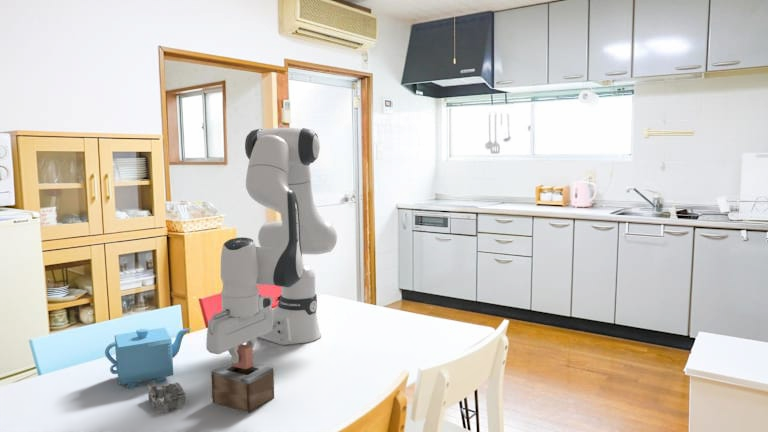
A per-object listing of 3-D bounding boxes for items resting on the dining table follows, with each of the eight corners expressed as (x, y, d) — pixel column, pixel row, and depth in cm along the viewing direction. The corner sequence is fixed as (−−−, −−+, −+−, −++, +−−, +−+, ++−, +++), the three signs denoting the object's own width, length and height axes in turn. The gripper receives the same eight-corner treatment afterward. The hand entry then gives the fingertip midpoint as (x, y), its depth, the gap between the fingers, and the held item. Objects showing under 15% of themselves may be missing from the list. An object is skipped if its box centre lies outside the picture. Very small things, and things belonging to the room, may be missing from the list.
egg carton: (146, 399, 139) (145, 383, 139) (177, 392, 143) (176, 377, 143) (156, 415, 130) (155, 399, 130) (188, 407, 134) (188, 391, 134)
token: (232, 366, 137) (231, 346, 136) (239, 362, 139) (238, 343, 138) (246, 369, 135) (245, 349, 134) (253, 365, 137) (252, 346, 136)
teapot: (108, 393, 142) (105, 341, 140) (105, 378, 151) (102, 329, 149) (197, 376, 152) (195, 328, 151) (189, 363, 162) (187, 317, 160)
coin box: (212, 402, 137) (211, 371, 136) (237, 388, 145) (236, 359, 144) (249, 412, 131) (248, 380, 130) (274, 397, 139) (273, 367, 138)
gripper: (219, 318, 124) (221, 377, 126) (276, 297, 142) (278, 348, 144) (198, 314, 127) (201, 371, 129) (257, 294, 145) (259, 344, 147)
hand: (242, 359), depth 137 cm, fingers closed on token, 2 cm apart
